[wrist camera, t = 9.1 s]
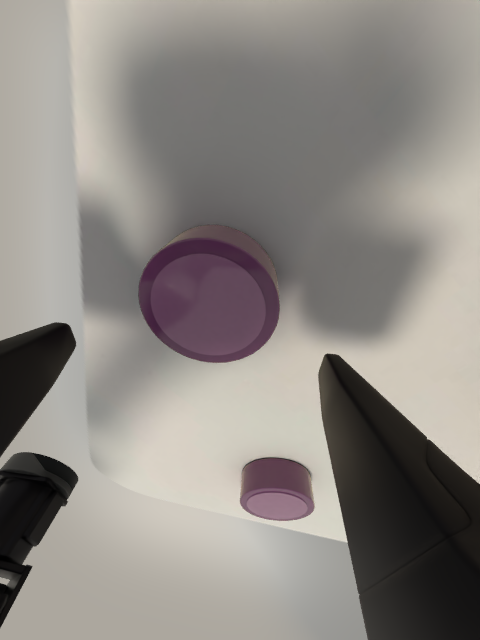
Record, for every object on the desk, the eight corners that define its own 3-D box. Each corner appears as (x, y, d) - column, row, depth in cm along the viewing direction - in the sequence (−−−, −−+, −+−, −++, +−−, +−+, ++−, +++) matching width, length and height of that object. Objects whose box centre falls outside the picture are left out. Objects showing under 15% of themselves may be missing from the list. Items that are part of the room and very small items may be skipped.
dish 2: (239, 487, 25) (237, 516, 23) (245, 453, 22) (242, 484, 20) (302, 495, 25) (305, 526, 23) (318, 463, 21) (323, 495, 19)
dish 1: (163, 329, 15) (147, 356, 13) (150, 218, 11) (124, 230, 9) (268, 341, 15) (269, 370, 13) (287, 231, 11) (292, 247, 9)
